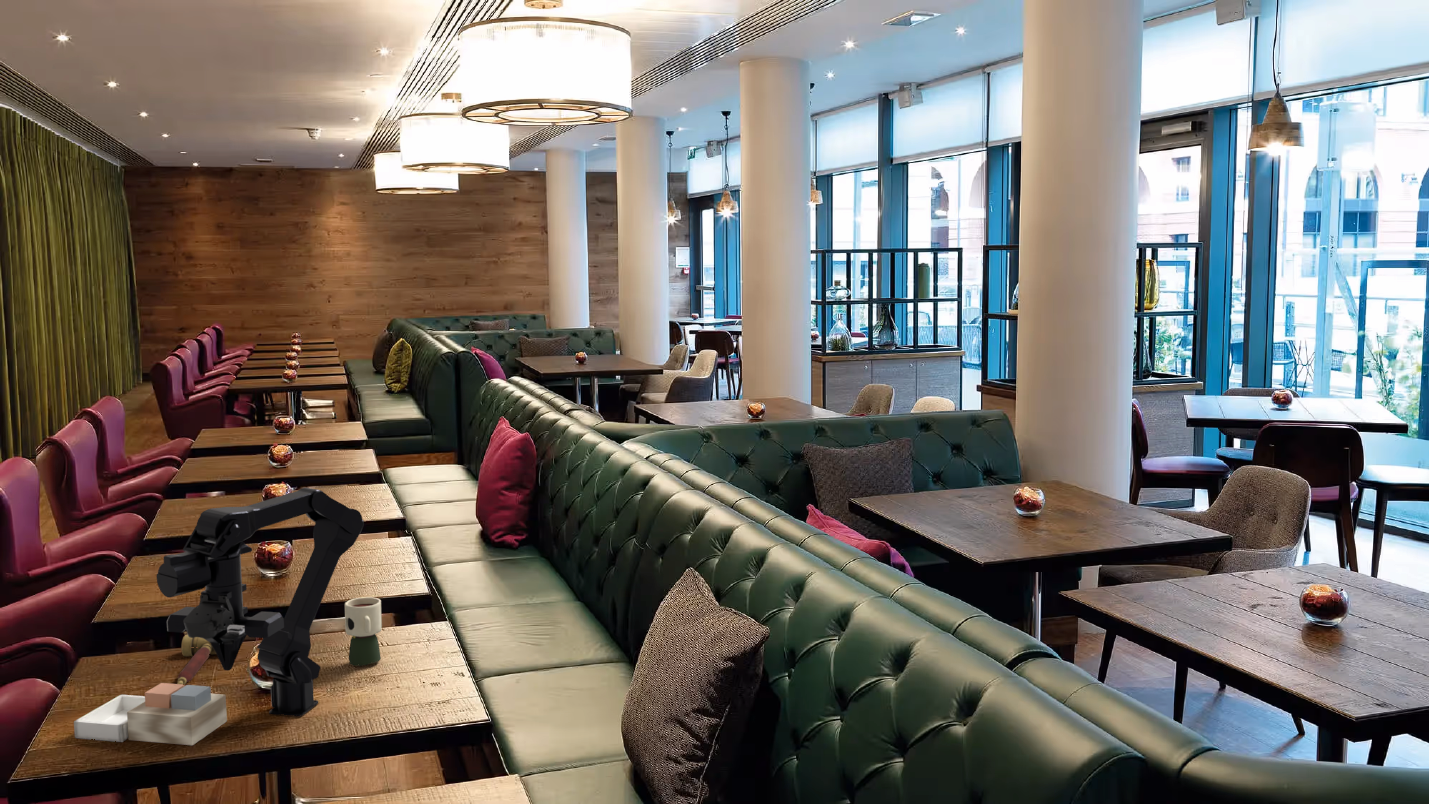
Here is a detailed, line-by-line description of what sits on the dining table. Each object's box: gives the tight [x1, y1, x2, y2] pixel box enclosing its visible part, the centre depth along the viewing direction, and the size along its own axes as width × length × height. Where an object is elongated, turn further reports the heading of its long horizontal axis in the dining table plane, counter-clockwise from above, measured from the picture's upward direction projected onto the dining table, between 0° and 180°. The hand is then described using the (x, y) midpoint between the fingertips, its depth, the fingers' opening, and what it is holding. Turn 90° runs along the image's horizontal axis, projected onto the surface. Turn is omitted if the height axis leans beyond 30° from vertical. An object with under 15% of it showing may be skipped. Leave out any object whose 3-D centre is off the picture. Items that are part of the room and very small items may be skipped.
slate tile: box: [171, 684, 212, 710], centre depth 193 cm, size 4×4×2 cm
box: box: [73, 694, 145, 743], centre depth 196 cm, size 9×12×3 cm
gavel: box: [176, 634, 217, 685], centre depth 224 cm, size 21×5×10 cm
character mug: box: [344, 596, 382, 667], centre depth 226 cm, size 11×7×13 cm, turn 27°
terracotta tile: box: [144, 682, 186, 708], centre depth 194 cm, size 4×4×2 cm
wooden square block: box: [127, 693, 228, 746], centre depth 194 cm, size 12×10×5 cm
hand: (228, 669), depth 191 cm, fingers closed
